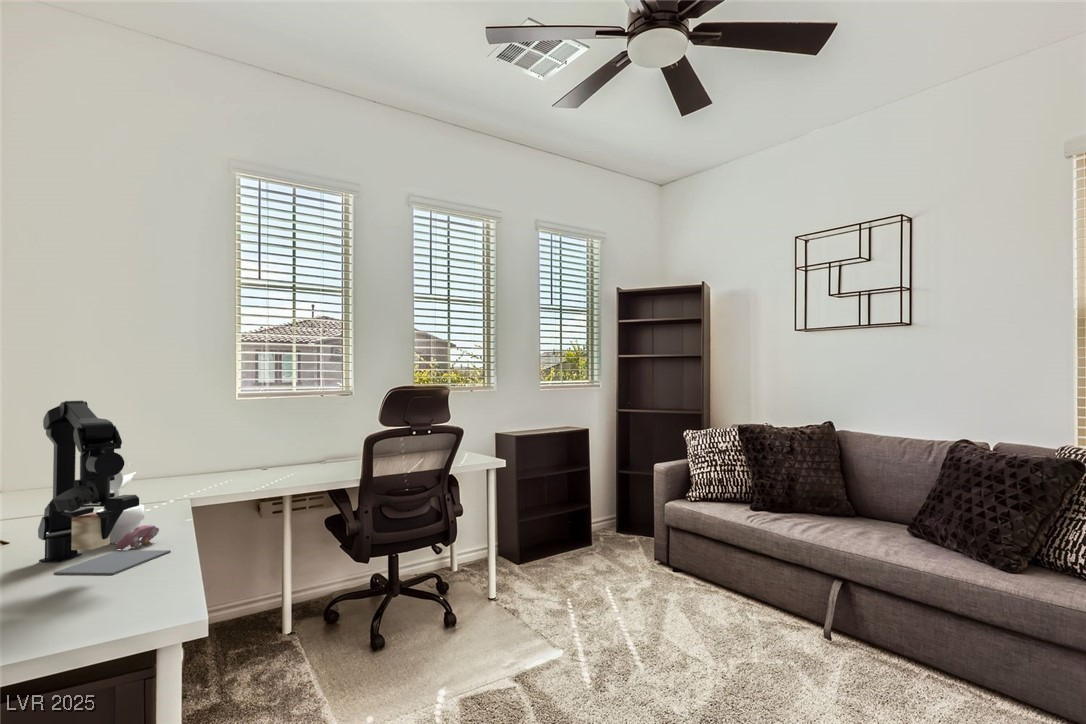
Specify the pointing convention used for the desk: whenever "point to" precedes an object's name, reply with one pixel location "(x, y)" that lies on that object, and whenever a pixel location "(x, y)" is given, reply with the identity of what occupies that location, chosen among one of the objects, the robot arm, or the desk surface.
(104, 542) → the tall block
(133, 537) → the video game controller
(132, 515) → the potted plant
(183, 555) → the desk surface
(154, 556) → the rubber mat
